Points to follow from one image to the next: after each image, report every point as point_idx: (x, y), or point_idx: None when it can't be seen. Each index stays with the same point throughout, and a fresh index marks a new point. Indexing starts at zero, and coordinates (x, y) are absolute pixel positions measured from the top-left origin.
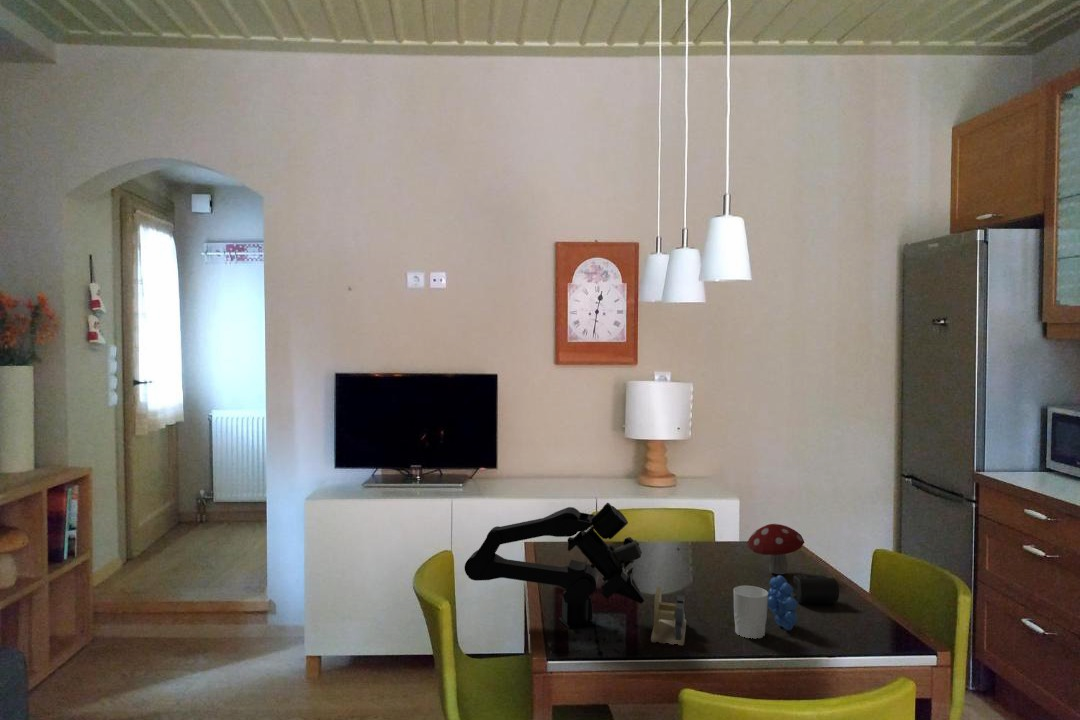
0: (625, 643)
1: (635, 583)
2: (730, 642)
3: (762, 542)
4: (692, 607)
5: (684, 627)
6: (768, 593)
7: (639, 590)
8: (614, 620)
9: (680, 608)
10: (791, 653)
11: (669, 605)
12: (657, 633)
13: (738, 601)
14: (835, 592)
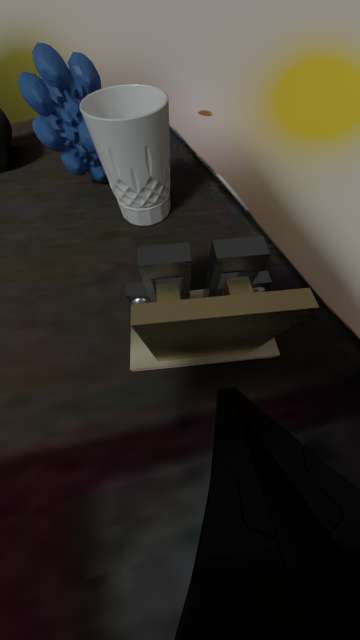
0: (326, 424)
1: (221, 485)
2: (196, 228)
3: None
4: (28, 302)
5: None
6: (52, 135)
7: (220, 426)
8: (169, 516)
9: (264, 241)
10: (200, 171)
11: (180, 299)
12: None
13: (157, 139)
14: (3, 114)
